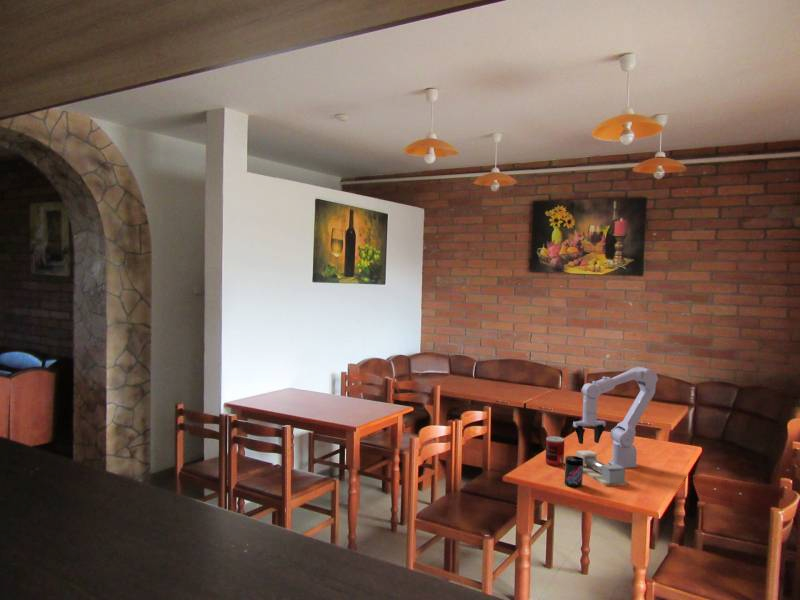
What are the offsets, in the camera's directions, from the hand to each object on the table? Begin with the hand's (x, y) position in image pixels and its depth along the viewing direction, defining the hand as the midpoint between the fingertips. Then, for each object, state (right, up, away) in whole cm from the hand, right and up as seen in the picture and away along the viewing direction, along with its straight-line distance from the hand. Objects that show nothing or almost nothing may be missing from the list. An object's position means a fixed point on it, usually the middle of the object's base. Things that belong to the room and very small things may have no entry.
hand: (588, 442), depth 248 cm
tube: (+1, -9, -12) cm, 15 cm away
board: (0, -10, -10) cm, 14 cm away
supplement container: (-14, -11, -24) cm, 29 cm away
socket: (+3, -10, -20) cm, 23 cm away
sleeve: (-2, -10, -2) cm, 10 cm away
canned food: (-14, -10, +2) cm, 17 cm away
